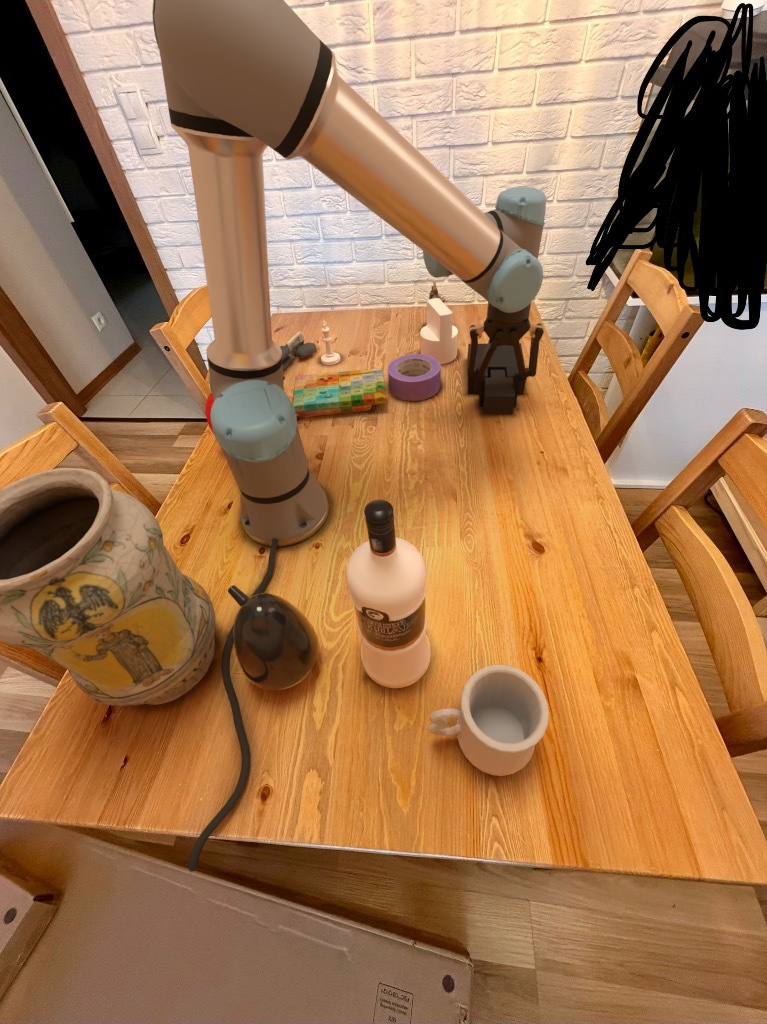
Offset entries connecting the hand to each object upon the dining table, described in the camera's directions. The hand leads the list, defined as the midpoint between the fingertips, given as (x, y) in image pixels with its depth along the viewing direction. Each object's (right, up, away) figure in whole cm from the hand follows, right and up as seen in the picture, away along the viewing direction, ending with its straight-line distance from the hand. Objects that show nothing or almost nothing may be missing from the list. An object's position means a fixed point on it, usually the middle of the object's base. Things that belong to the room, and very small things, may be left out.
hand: (497, 403), depth 98 cm
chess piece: (-38, +15, +18) cm, 44 cm away
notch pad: (+1, +8, +7) cm, 11 cm away
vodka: (-23, -43, -36) cm, 61 cm away
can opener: (-48, +13, +17) cm, 53 cm away
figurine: (-10, +25, +24) cm, 37 cm away
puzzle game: (-34, +2, +5) cm, 34 cm away
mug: (-13, -50, -43) cm, 68 cm away
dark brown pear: (-38, -44, -35) cm, 68 cm away
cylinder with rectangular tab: (-11, +16, +16) cm, 25 cm away
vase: (-55, -44, -34) cm, 78 cm away
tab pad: (0, +1, +1) cm, 1 cm away
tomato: (-53, -8, -2) cm, 54 cm away
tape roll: (-17, +5, +7) cm, 19 cm away
